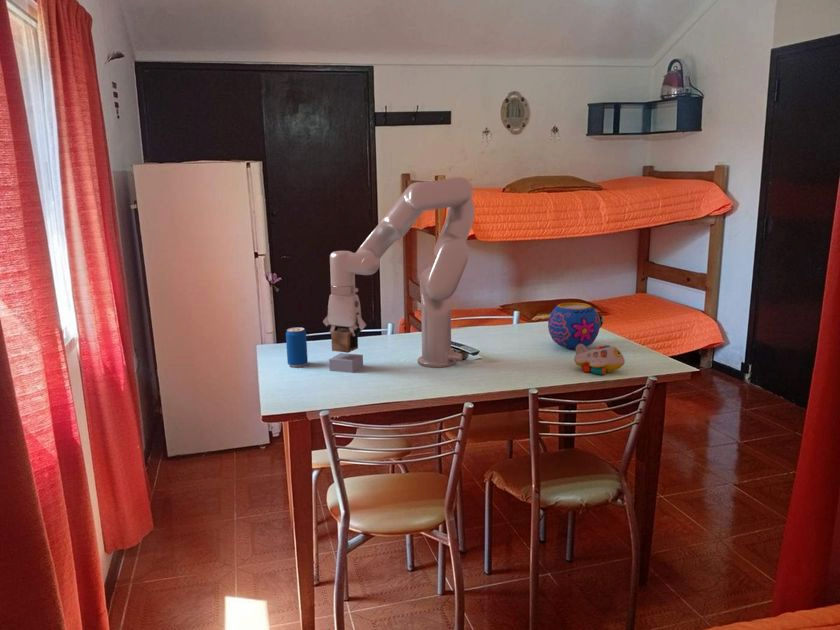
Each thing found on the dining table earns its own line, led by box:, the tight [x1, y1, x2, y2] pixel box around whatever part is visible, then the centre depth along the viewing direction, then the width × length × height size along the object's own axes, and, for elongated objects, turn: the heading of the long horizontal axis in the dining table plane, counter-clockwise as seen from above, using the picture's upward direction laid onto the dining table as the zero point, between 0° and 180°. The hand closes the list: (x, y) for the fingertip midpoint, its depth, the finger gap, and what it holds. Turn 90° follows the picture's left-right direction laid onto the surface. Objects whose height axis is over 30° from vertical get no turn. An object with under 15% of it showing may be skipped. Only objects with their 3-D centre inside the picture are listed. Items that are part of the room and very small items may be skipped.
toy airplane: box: [573, 344, 626, 375], centre depth 206 cm, size 13×9×15 cm
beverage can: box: [285, 326, 309, 368], centre depth 218 cm, size 6×6×12 cm
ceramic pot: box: [547, 302, 604, 350], centre depth 233 cm, size 18×18×15 cm
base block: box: [328, 352, 364, 374], centre depth 214 cm, size 8×8×4 cm
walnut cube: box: [330, 328, 359, 354], centre depth 213 cm, size 6×6×6 cm
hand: (345, 345), depth 213 cm, fingers closed on walnut cube, 6 cm apart
